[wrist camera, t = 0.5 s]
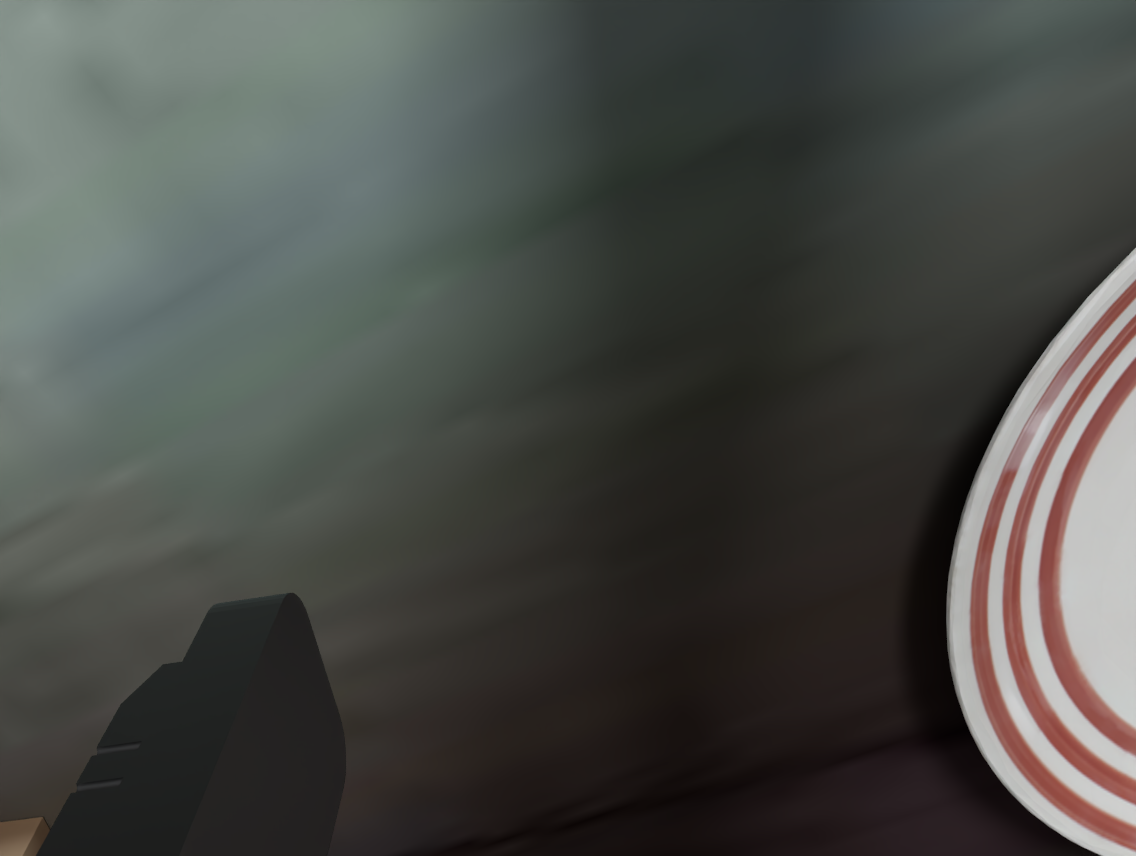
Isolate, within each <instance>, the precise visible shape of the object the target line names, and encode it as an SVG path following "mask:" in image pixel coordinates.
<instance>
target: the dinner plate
mask: <svg viewBox="0 0 1136 856" xmlns="http://www.w3.org/2000/svg"><path fill="white" fill-rule="evenodd" d="M946 626H947V649H948V655H949V662H950V669H951V674H952V678H953V683H954V687H955V692H956V695H957V698H958V701H959V704H960V707H961V710H962V712H963V715H964V718H965V721H966V723H967V726H968V728H969V730H970V733H971V735H972V737H973V739H974V741H975V743H976V744H977V746H978V748H979V750H980V752H981V754H982V756H983V757H984V759H985V760H986V761H987V763H988V764H989V766H990V767H991V769H992V770H993V771H994V773H995V774H996V776H997V777H998V778H999V780H1000V781H1001V783H1002V784H1003V785H1004V786H1005V787H1006V788H1007V789H1008V791H1009V792H1010V793H1011V794H1012V795H1013V796H1014V797H1015V798H1016V799H1017V800H1018V801H1019V802H1020V803H1021V804H1022V805H1023V806H1024V807H1025V808H1026V809H1027V810H1028V811H1029V812H1030V813H1031V814H1033V815H1034V816H1035V817H1037V818H1038V819H1039V820H1041V821H1042V822H1043V823H1045V824H1046V825H1047V826H1049V827H1050V828H1052V829H1053V830H1055V831H1056V832H1058V833H1059V834H1061V835H1062V836H1064V837H1065V838H1067V839H1068V840H1070V841H1072V842H1074V843H1076V844H1078V845H1080V846H1081V847H1083V848H1086V849H1088V850H1090V851H1092V852H1094V853H1096V854H1098V855H1100V856H1136V248H1135V249H1134V250H1133V251H1132V252H1131V253H1130V254H1129V255H1128V256H1127V257H1126V258H1125V259H1124V260H1123V261H1122V262H1121V263H1120V264H1119V265H1118V266H1117V267H1116V268H1115V270H1114V271H1113V272H1112V273H1111V274H1110V275H1109V276H1108V277H1107V278H1106V279H1105V280H1104V281H1103V282H1102V283H1101V284H1100V285H1099V286H1098V287H1097V288H1096V289H1095V290H1094V291H1093V292H1092V293H1091V294H1090V295H1089V296H1088V298H1087V299H1086V300H1085V301H1084V302H1083V304H1082V305H1081V306H1080V307H1079V308H1078V310H1077V311H1076V312H1075V313H1074V315H1073V316H1072V317H1071V318H1070V319H1069V321H1068V322H1067V323H1066V324H1065V326H1064V327H1063V328H1062V329H1061V330H1060V332H1059V333H1058V334H1057V335H1056V336H1055V338H1054V339H1053V340H1052V341H1051V343H1050V344H1049V346H1048V347H1047V348H1046V350H1045V351H1044V353H1043V354H1042V355H1041V357H1040V358H1039V360H1038V361H1037V362H1036V364H1035V365H1034V367H1033V368H1032V370H1031V371H1030V373H1029V374H1028V376H1027V377H1026V379H1025V380H1024V382H1023V383H1022V385H1021V386H1020V388H1019V389H1018V391H1017V393H1016V394H1015V396H1014V398H1013V400H1012V401H1011V403H1010V405H1009V406H1008V408H1007V410H1006V412H1005V413H1004V415H1003V417H1002V419H1001V421H1000V423H999V425H998V427H997V429H996V431H995V433H994V434H993V436H992V439H991V441H990V443H989V445H988V447H987V450H986V452H985V454H984V456H983V458H982V461H981V463H980V465H979V467H978V469H977V472H976V474H975V477H974V480H973V483H972V485H971V488H970V491H969V493H968V496H967V499H966V502H965V505H964V508H963V511H962V515H961V518H960V522H959V526H958V530H957V534H956V537H955V542H954V548H953V554H952V559H951V565H950V571H949V577H948V589H947V611H946Z"/></svg>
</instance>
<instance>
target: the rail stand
mask: <svg viewBox="0 0 1136 856" xmlns="http://www.w3.org/2000/svg"><path fill="white" fill-rule="evenodd" d="M49 831H50V829H49V827H48V826H47V824H46V822H45V820H44V818H43V817H38V818H30V819H23V820H15V821H7V822H0V856H36V854H37V853H38V851H39V849H40V847H41V845H42V844H43V842H44V840H45V838H46V837H47V835H48V833H49Z"/></svg>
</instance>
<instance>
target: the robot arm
mask: <svg viewBox="0 0 1136 856" xmlns="http://www.w3.org/2000/svg"><path fill="white" fill-rule="evenodd" d="M97 751H98V752H97V755H95V756H92V757H91V758H90V760H89V762H88V764H87V765H86V767H85V769H84V771H83V773H82V774H81V776H80V778H79V780H78V781H77V783H76V784H77V792H76V793H71V794H70V796H69V797H68V799H67V801H66V803H65V805H64V806H63V808H62V810H61V812H60V813H59V815H58V817H57V819H56V821H55V822H54V824H53V826H52V828H51V829H50V831H49V833H48V835H47V837H46V838H45V840H44V842H43V844H42V845H41V847H40V849H39V851H38V853H37V854H36V856H327V854H328V850H329V846H330V842H331V838H332V834H333V830H334V826H335V822H336V817H337V813H338V809H339V805H340V801H341V797H342V793H343V788H344V783H345V775H346V748H345V738H344V732H343V727H342V722H341V718H340V715H339V712H338V709H337V705H336V702H335V699H334V696H333V693H332V690H331V687H330V683H329V680H328V677H327V674H326V671H325V668H324V664H323V661H322V658H321V655H320V652H319V649H318V646H317V642H316V639H315V636H314V633H313V630H312V627H311V623H310V620H309V617H308V614H307V612H306V609H305V607H304V605H303V603H302V601H301V600H300V598H299V597H298V596H297V595H296V594H294V593H286V594H280V595H273V596H266V597H259V598H252V599H245V600H239V601H232V602H225V603H218V604H215V605H213V606H212V607H211V608H210V610H209V611H208V613H207V615H206V616H205V618H204V620H203V622H202V624H201V626H200V628H199V630H198V632H197V634H196V636H195V638H194V640H193V642H192V644H191V646H190V648H189V650H188V652H187V654H186V656H185V658H184V660H183V662H177V663H170V664H163V665H162V666H161V667H160V668H159V669H158V670H157V671H156V672H155V673H153V674H152V675H151V676H150V677H149V678H148V679H147V680H146V681H145V682H144V683H143V684H142V685H141V686H140V687H139V688H138V689H136V690H135V691H134V692H133V693H132V694H131V695H130V696H129V697H128V698H127V699H126V700H125V701H124V702H123V703H122V704H121V705H120V707H119V709H118V710H117V712H116V714H115V716H114V717H113V719H112V721H111V723H110V725H109V726H108V728H107V730H106V732H105V733H104V735H103V737H102V739H101V741H100V742H99V744H98V746H97Z"/></svg>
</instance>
